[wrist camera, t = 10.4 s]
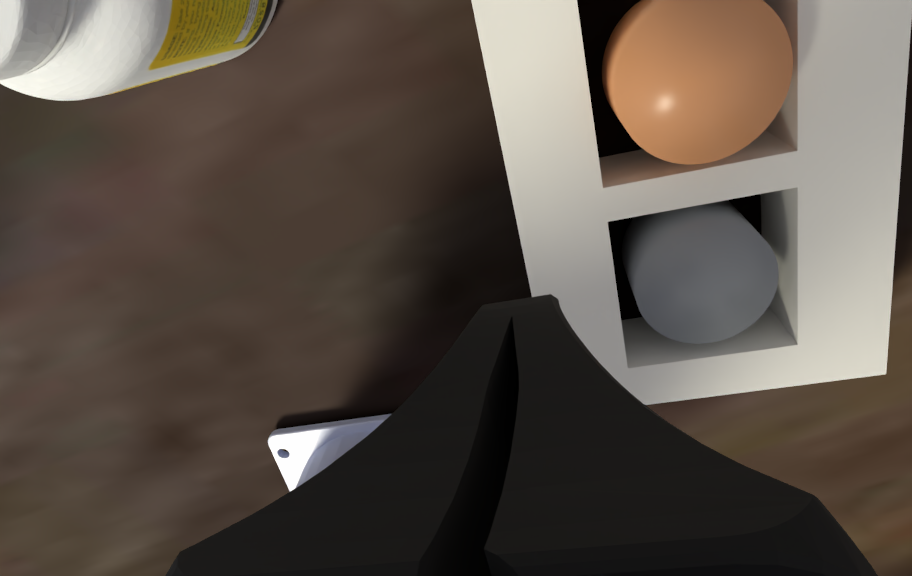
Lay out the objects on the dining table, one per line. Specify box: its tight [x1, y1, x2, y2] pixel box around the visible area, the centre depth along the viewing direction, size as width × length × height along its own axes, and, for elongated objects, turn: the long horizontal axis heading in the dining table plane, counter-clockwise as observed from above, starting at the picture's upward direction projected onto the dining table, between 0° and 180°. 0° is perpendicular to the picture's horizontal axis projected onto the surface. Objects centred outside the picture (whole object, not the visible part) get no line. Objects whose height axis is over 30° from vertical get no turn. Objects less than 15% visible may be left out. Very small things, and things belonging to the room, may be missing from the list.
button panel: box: [471, 0, 912, 405], centre depth 17 cm, size 20×10×3 cm, turn 14°
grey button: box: [621, 200, 779, 344], centre depth 19 cm, size 4×4×3 cm
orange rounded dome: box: [602, 0, 793, 165], centre depth 16 cm, size 4×4×3 cm
